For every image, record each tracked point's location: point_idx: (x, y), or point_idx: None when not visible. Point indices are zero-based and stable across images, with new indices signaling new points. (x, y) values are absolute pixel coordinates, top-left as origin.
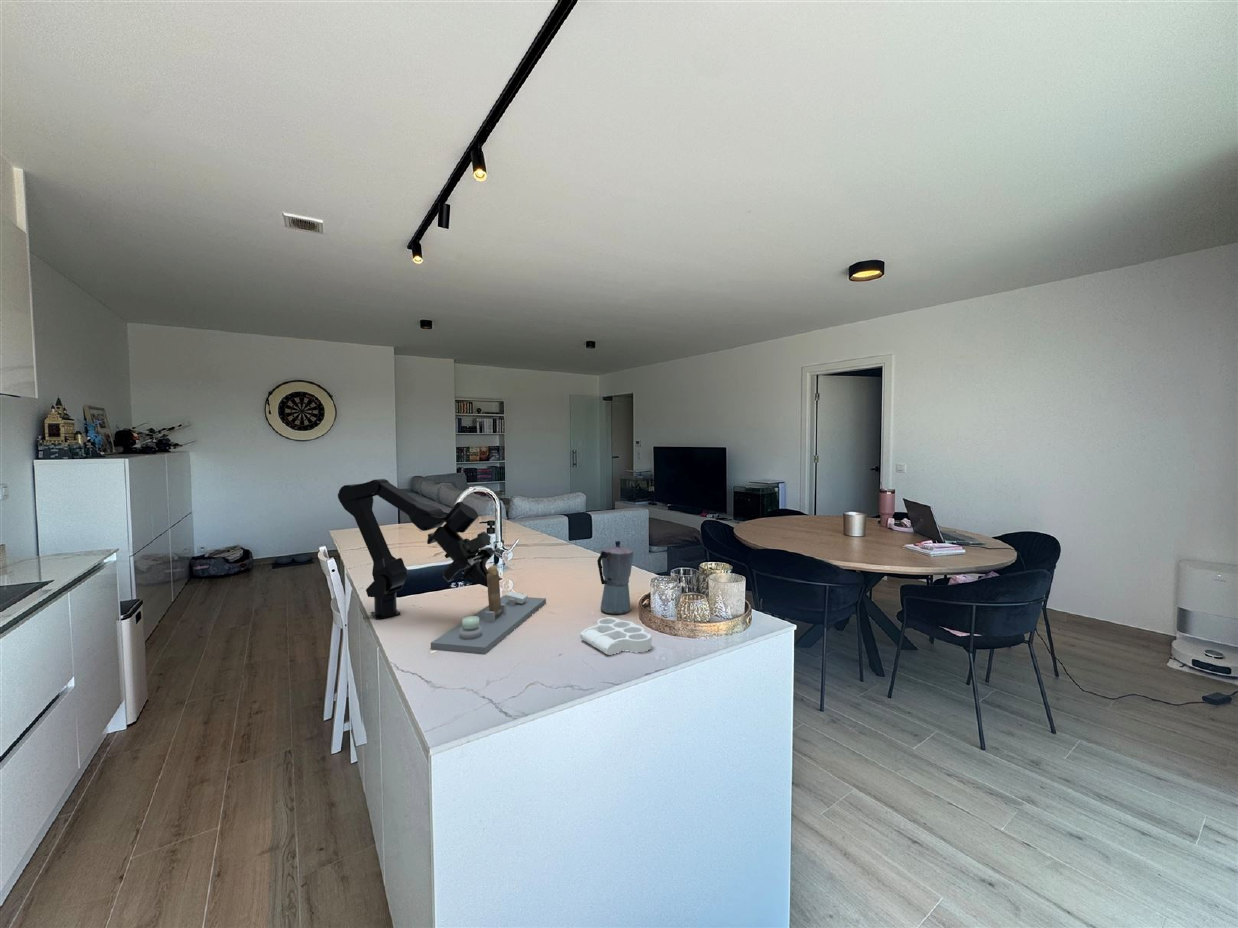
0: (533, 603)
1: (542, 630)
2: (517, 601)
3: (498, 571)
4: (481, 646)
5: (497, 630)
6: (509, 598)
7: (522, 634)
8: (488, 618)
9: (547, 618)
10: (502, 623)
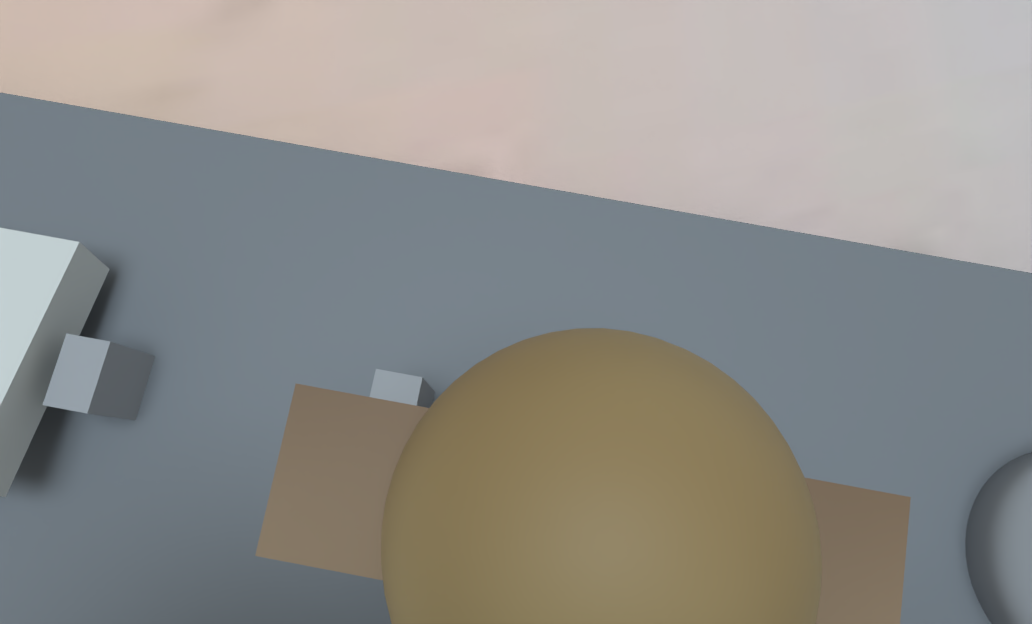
0: (64, 167)
1: (691, 7)
2: (80, 318)
3: (303, 386)
4: None
5: (901, 329)
6: (20, 422)
7: (796, 142)
8: None
9: (397, 17)
10: (705, 335)
